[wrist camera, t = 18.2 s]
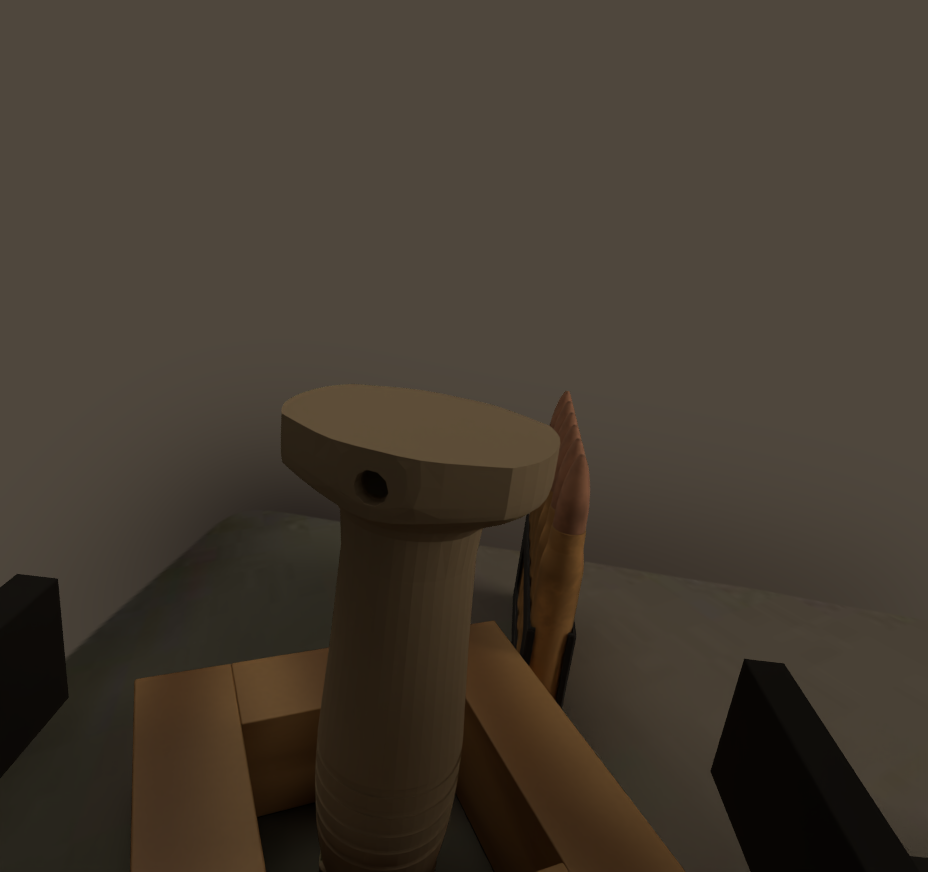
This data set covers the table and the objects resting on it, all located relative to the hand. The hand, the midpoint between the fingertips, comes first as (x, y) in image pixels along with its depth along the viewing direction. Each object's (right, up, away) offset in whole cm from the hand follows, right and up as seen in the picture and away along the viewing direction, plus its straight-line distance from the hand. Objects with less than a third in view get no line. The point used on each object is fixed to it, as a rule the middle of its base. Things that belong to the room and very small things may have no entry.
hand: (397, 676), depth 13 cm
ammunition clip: (+4, -6, +19) cm, 20 cm away
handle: (-1, -9, +7) cm, 12 cm away
